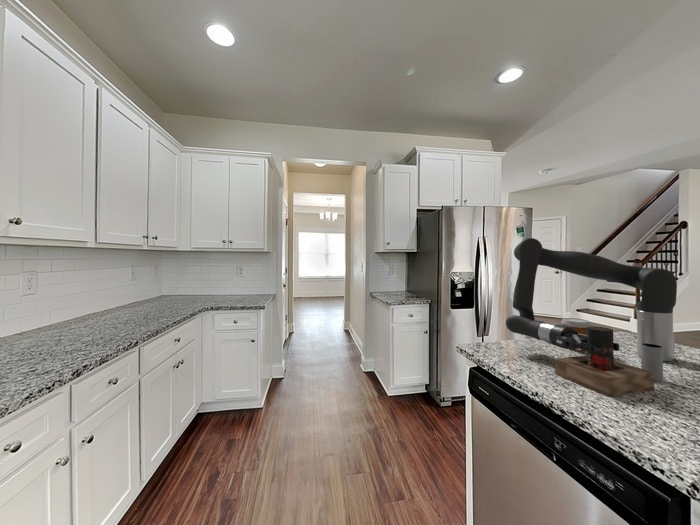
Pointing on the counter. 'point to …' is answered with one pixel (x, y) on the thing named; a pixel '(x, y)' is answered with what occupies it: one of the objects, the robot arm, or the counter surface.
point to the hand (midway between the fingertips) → (607, 348)
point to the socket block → (605, 376)
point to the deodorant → (601, 348)
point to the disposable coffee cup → (577, 325)
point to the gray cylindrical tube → (652, 360)
